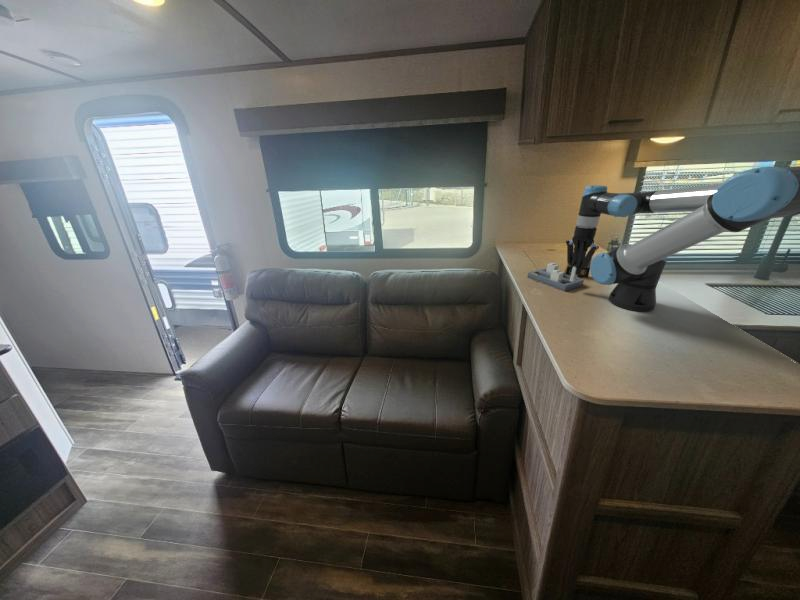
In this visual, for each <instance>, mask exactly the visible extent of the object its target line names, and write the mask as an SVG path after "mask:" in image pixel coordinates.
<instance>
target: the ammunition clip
mask: <svg viewBox="0 0 800 600" xmlns="http://www.w3.org/2000/svg"><path fill="white" fill-rule="evenodd" d="M587 254H588V252H586V255H587ZM586 255H585V257H586ZM592 259H593V257H592V258H591V260H590V262H589V264H588V265H587V266H586V267H583V268H582V269H581V272H580V274H579V275H578V277H577V278H589V275H590V266H591V261H592ZM576 266H577V265H576ZM570 269H571V264H568V263H567V262H566V266H565V269H564V274H567V275H570V276H571V273H570Z"/></svg>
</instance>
